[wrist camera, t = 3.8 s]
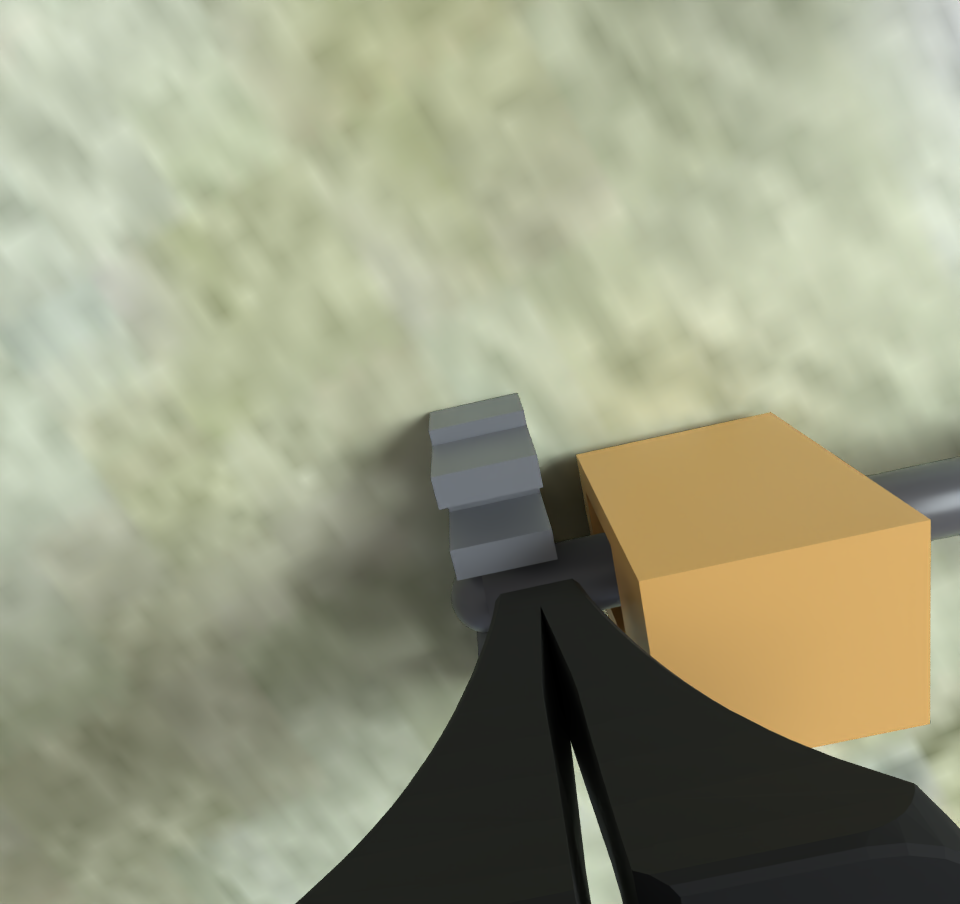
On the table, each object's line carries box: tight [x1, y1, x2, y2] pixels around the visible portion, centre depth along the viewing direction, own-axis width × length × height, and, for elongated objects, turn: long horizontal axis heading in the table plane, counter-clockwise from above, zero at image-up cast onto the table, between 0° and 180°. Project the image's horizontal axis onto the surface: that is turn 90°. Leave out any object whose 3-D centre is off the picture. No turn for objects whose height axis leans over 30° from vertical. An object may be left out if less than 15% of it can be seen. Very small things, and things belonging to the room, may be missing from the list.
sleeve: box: [576, 412, 931, 748], centre depth 13 cm, size 4×4×5 cm
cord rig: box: [429, 393, 960, 656], centre depth 14 cm, size 18×6×3 cm, turn 102°
